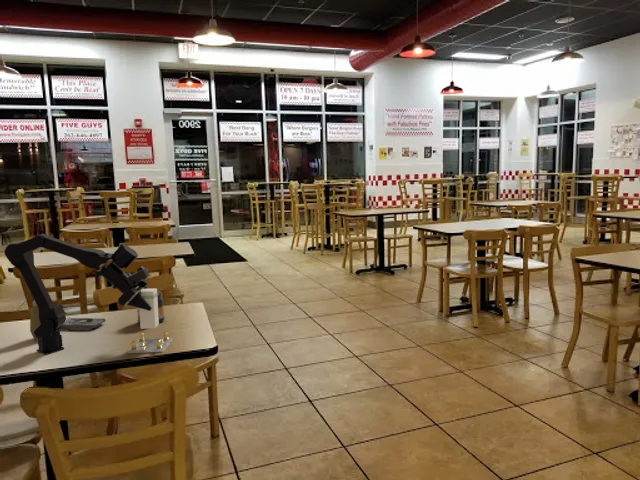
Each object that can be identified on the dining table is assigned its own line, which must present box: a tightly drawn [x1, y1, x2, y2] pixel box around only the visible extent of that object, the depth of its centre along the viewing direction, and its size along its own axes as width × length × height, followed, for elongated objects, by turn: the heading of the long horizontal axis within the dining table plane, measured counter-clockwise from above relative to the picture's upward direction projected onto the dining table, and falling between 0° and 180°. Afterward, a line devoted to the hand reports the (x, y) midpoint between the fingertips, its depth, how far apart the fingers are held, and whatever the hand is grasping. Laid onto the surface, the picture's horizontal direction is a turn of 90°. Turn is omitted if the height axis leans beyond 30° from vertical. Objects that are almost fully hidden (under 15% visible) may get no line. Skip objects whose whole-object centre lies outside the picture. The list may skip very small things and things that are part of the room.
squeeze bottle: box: [29, 300, 41, 341], centre depth 186 cm, size 8×8×18 cm
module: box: [139, 287, 160, 330], centre depth 175 cm, size 5×5×13 cm
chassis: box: [126, 331, 173, 354], centre depth 175 cm, size 12×12×4 cm
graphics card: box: [58, 316, 106, 331], centre depth 199 cm, size 17×4×12 cm
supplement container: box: [136, 290, 166, 325], centre depth 204 cm, size 10×10×12 cm
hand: (152, 307), depth 175 cm, fingers closed on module, 5 cm apart
